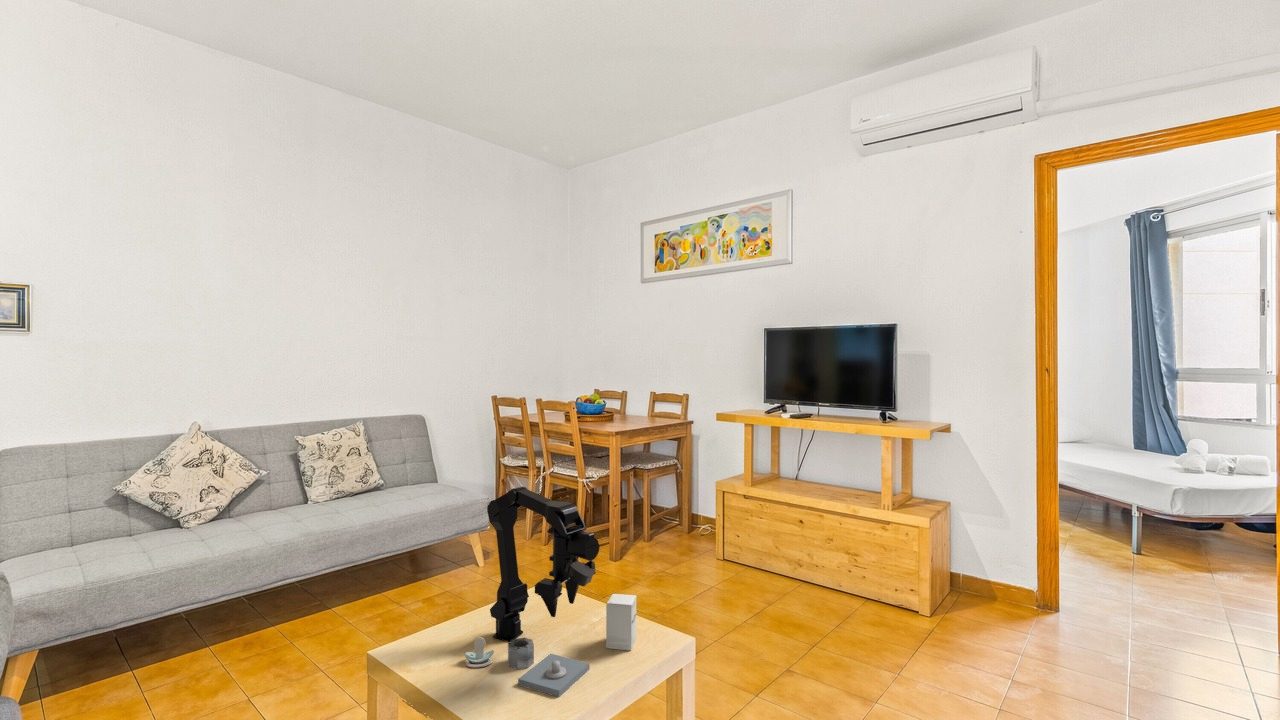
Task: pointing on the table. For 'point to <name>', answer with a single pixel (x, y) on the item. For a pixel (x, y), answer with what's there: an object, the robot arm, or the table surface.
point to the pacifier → (479, 655)
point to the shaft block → (554, 674)
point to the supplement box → (621, 621)
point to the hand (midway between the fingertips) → (562, 609)
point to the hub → (520, 653)
